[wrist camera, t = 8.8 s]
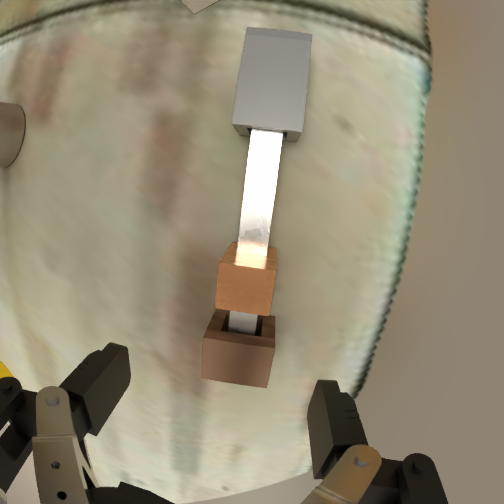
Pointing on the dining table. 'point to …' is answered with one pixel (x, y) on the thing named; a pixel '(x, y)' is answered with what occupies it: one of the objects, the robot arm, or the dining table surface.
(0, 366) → the yellow toilet roll
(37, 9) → the dining table surface
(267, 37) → the outer sleeve
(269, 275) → the bar with orange block
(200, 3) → the milk
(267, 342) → the socket block
